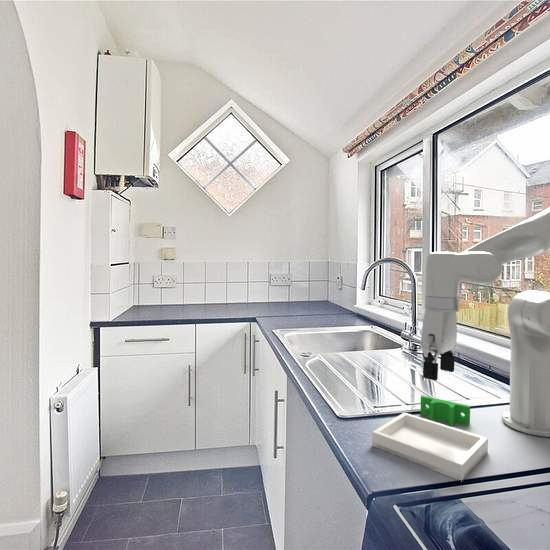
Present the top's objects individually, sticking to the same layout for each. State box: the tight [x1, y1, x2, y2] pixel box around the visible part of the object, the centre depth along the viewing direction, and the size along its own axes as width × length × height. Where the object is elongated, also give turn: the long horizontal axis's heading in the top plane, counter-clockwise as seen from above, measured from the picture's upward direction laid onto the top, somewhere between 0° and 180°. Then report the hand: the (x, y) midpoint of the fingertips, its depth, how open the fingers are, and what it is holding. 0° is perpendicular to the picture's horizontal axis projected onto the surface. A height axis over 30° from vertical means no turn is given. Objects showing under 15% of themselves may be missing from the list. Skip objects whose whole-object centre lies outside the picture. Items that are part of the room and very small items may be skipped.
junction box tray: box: [371, 412, 489, 482], centre depth 78 cm, size 14×18×3 cm
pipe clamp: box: [420, 395, 471, 427], centre depth 91 cm, size 11×4×5 cm, turn 52°
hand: (438, 374), depth 90 cm, fingers open, 9 cm apart
